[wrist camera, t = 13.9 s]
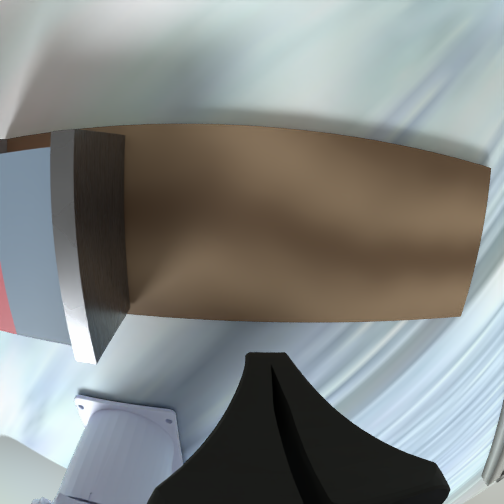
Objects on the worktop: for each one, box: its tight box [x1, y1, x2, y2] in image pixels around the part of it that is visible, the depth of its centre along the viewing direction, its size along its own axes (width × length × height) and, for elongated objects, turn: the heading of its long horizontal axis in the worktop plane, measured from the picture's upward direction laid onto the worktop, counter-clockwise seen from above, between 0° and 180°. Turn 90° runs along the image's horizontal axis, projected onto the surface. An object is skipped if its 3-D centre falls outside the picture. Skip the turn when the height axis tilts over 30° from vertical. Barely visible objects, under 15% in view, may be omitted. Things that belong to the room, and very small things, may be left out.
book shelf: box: [0, 124, 491, 322], centre depth 13 cm, size 10×30×7 cm, turn 86°
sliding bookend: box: [50, 129, 130, 364], centre depth 12 cm, size 9×1×5 cm, turn 177°
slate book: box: [0, 147, 72, 345], centre depth 13 cm, size 8×4×5 cm, turn 177°
